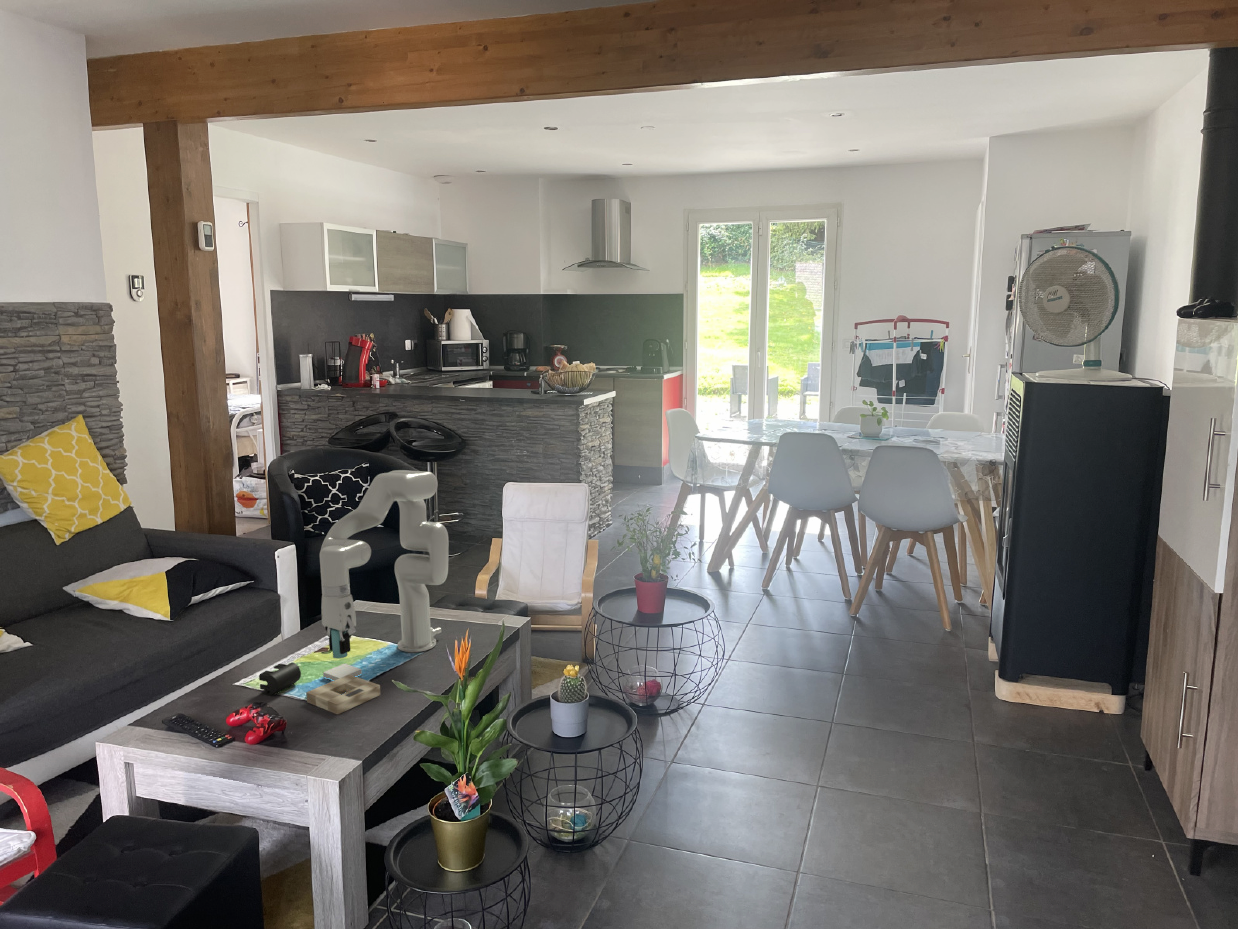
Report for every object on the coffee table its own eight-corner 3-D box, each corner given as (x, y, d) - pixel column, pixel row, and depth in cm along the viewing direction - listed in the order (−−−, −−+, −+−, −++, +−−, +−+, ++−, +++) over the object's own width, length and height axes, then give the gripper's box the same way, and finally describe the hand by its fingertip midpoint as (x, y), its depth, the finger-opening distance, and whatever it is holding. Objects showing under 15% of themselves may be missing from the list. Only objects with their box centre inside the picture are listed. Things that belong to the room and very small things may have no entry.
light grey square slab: (345, 669, 274) (344, 663, 274) (361, 675, 269) (361, 669, 269) (323, 678, 268) (323, 672, 267) (340, 684, 263) (339, 678, 263)
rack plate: (349, 683, 264) (349, 674, 263) (380, 695, 256) (379, 685, 255) (306, 702, 251) (306, 692, 251) (337, 714, 243) (336, 704, 243)
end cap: (278, 698, 254) (276, 676, 253) (259, 694, 257) (257, 673, 256) (302, 684, 264) (300, 663, 262) (283, 681, 266) (281, 660, 265)
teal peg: (341, 652, 254) (339, 625, 252) (350, 655, 251) (348, 628, 250) (330, 656, 250) (328, 630, 249) (338, 659, 248) (337, 632, 247)
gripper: (365, 591, 246) (369, 653, 249) (328, 581, 255) (332, 641, 258) (343, 598, 240) (347, 661, 243) (306, 588, 249) (310, 649, 252)
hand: (340, 650), depth 251 cm, fingers closed on teal peg, 4 cm apart
